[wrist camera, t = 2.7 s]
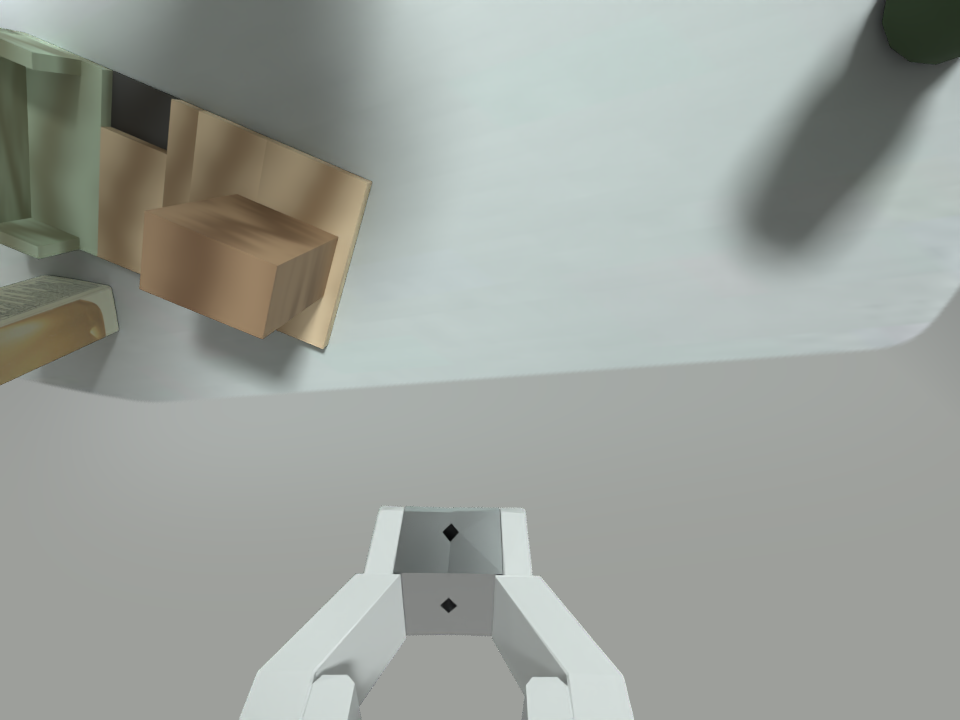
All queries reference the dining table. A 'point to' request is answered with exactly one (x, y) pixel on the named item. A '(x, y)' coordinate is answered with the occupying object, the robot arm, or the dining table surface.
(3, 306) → the skincare box
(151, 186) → the wooden slotted tray
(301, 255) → the walnut block
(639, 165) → the dining table surface
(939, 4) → the cream and green cup
